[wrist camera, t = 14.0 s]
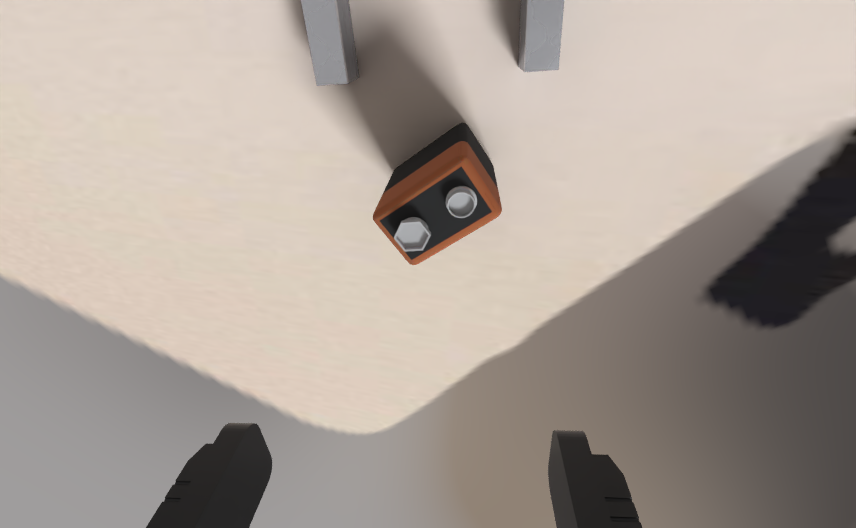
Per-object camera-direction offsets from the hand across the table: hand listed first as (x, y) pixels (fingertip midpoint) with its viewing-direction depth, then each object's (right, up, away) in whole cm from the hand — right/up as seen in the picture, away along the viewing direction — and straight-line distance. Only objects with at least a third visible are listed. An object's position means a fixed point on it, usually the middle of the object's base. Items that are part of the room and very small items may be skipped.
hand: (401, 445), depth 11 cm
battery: (+2, +12, +21) cm, 24 cm away
